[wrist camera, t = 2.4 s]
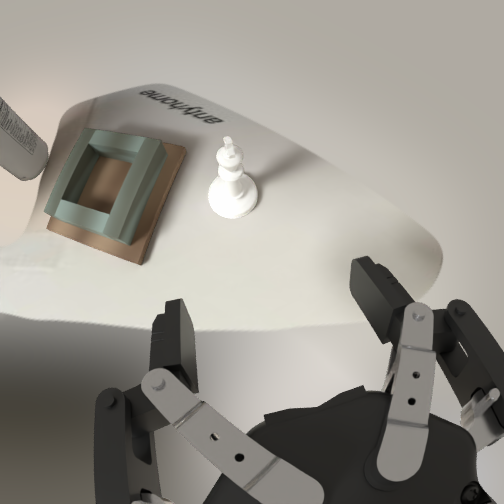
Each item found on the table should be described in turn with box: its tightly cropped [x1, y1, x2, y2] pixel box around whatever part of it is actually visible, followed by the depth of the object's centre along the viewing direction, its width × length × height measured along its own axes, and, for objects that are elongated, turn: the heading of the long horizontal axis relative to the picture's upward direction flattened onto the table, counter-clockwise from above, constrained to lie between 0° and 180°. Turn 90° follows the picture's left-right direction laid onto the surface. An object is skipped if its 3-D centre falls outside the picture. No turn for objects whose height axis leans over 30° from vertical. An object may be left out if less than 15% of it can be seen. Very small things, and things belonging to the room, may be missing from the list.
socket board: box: [44, 128, 186, 265], centre depth 26 cm, size 13×13×4 cm
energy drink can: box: [0, 97, 48, 181], centre depth 22 cm, size 6×6×15 cm
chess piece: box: [208, 136, 258, 218], centre depth 24 cm, size 5×5×10 cm
